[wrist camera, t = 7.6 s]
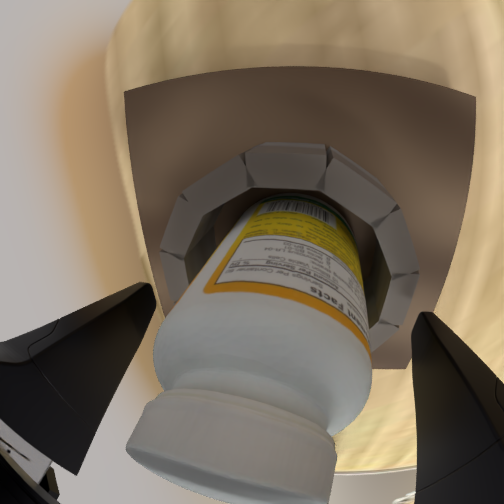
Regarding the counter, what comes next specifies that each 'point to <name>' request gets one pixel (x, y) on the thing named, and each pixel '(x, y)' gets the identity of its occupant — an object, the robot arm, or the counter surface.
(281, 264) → the supplement bottle
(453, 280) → the counter surface
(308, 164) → the brown base with ring
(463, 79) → the counter surface
